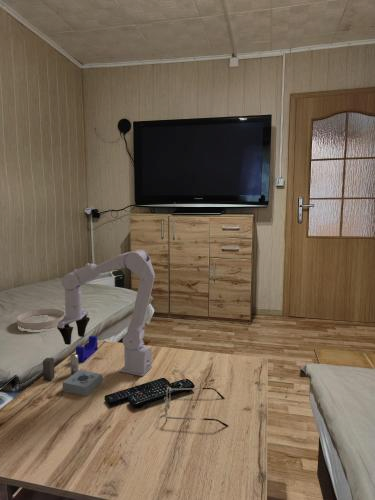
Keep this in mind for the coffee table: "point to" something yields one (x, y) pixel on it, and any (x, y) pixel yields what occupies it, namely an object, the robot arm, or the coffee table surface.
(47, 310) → the dish
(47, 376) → the square bit
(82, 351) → the blue arched block
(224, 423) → the eyeglasses
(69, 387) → the socket block
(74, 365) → the round bit
